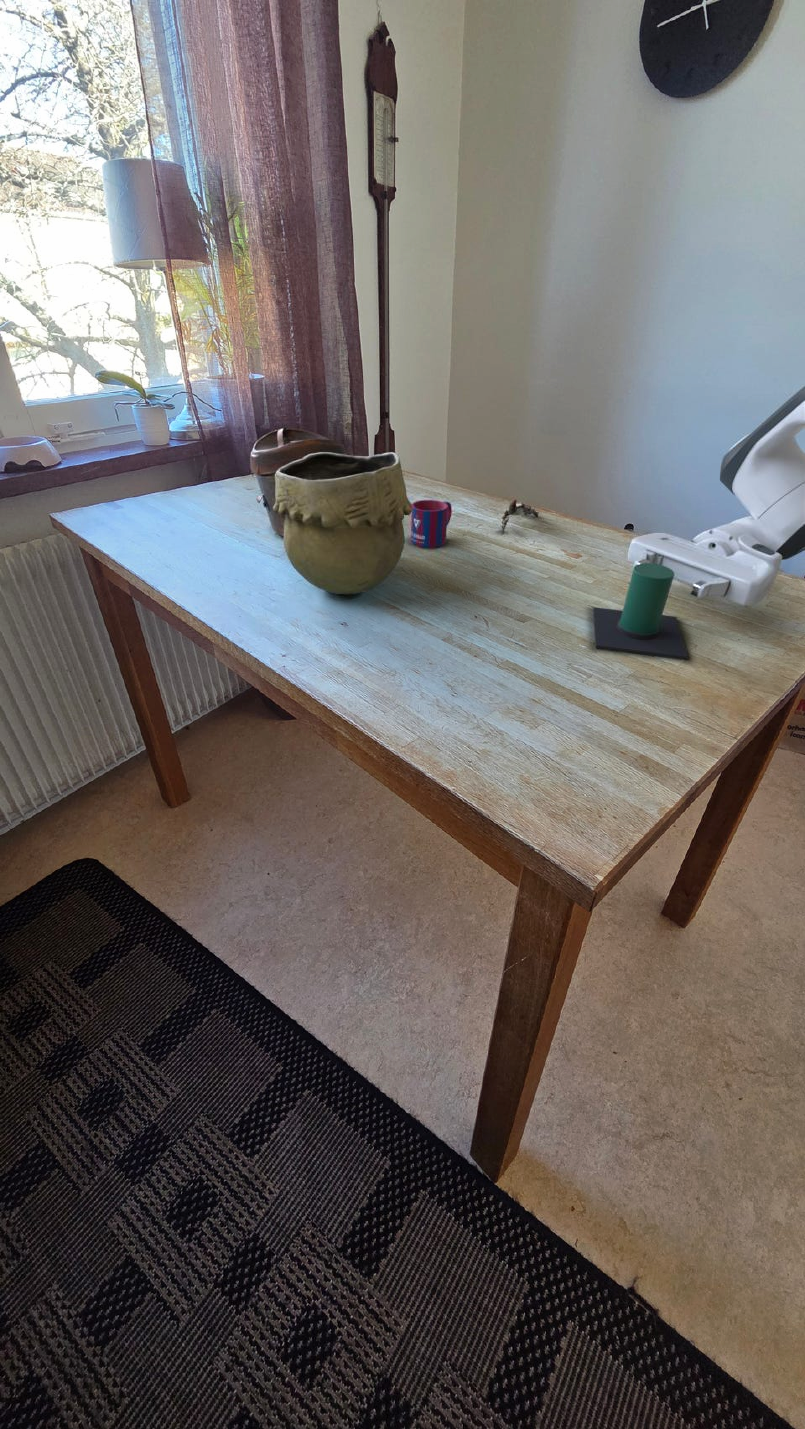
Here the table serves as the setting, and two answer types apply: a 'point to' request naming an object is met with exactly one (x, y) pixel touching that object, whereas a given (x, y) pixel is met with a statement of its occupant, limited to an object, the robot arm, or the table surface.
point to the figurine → (516, 512)
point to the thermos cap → (645, 601)
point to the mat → (661, 645)
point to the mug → (429, 523)
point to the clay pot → (343, 518)
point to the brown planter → (284, 462)
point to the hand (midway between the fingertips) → (665, 579)
